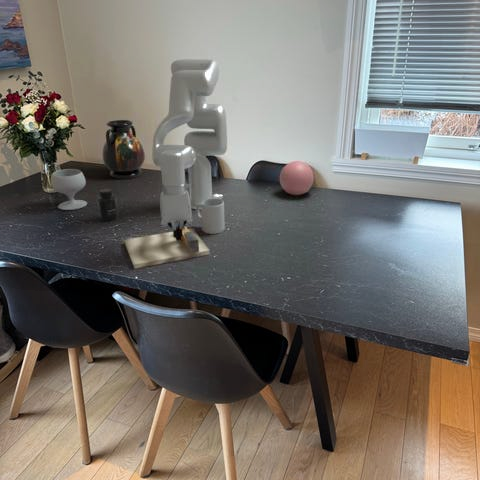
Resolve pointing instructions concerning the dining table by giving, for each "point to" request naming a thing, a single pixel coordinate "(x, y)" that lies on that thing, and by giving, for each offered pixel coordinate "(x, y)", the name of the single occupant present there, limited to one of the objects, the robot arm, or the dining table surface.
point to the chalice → (69, 187)
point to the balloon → (296, 178)
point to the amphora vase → (123, 150)
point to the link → (184, 236)
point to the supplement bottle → (107, 205)
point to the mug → (211, 215)
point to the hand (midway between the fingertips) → (178, 238)
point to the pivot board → (164, 248)
